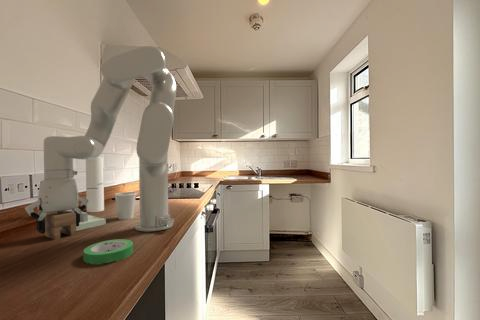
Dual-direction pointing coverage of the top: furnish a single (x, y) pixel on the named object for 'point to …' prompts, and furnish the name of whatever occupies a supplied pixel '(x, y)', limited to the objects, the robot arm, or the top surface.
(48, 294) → the top surface
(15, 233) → the top surface
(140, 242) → the top surface
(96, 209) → the cylindrical container
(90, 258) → the tape roll
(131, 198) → the dixie cup
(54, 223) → the walnut block
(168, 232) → the top surface
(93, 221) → the cleat board
